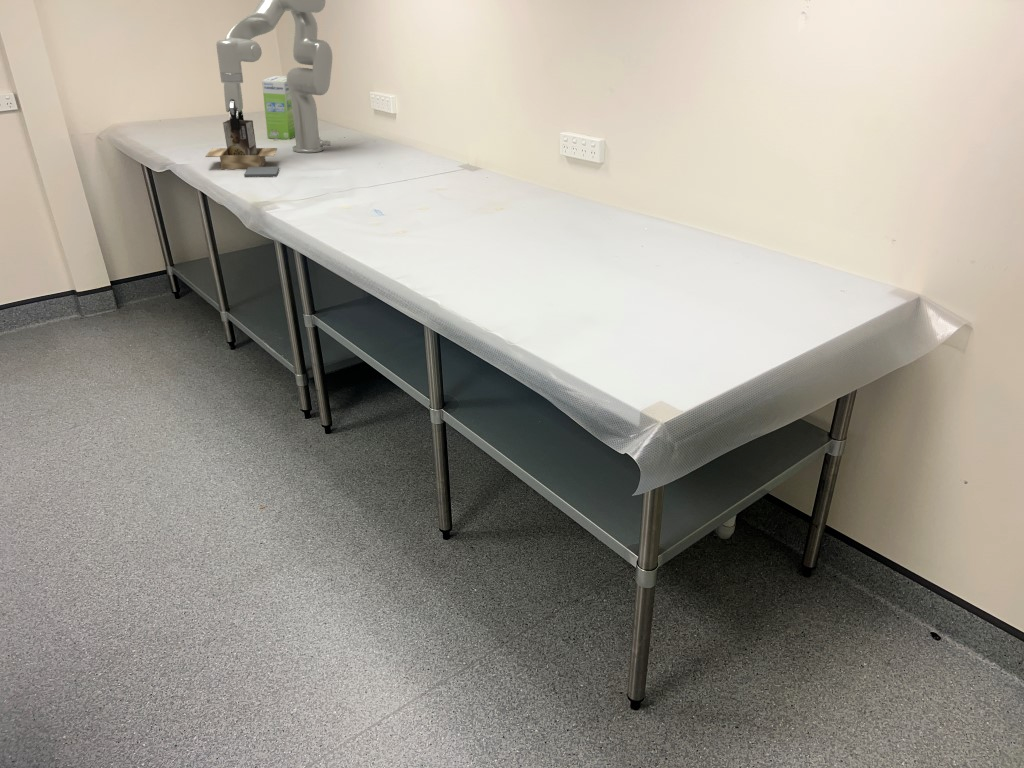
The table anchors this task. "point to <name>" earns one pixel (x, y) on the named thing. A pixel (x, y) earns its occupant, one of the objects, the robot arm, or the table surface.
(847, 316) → the table surface
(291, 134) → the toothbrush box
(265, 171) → the mat
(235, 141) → the coffee box
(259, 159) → the carton
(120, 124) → the table surface
